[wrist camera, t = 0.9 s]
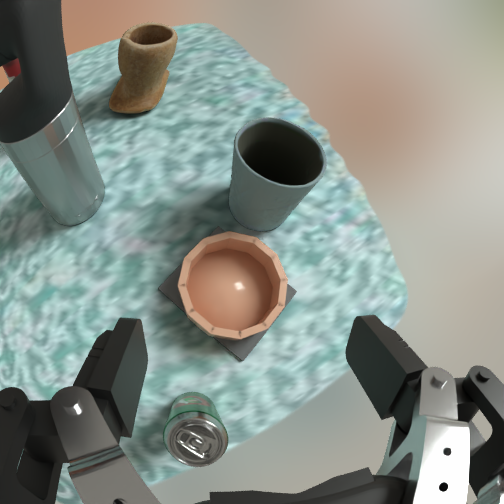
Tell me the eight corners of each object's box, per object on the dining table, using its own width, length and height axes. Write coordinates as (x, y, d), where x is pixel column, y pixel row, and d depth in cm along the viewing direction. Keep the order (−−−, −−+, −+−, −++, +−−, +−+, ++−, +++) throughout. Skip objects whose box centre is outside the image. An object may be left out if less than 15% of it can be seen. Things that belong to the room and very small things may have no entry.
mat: (158, 288, 31) (158, 288, 31) (218, 227, 36) (218, 226, 35) (242, 360, 30) (243, 360, 30) (295, 292, 35) (296, 291, 34)
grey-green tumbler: (300, 230, 38) (341, 183, 27) (231, 243, 35) (251, 193, 24) (277, 172, 41) (305, 116, 30) (213, 179, 38) (224, 118, 27)
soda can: (202, 437, 26) (210, 480, 15) (164, 417, 26) (150, 451, 15) (223, 404, 28) (242, 432, 17) (185, 383, 28) (181, 401, 17)
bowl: (160, 293, 31) (157, 286, 27) (224, 228, 35) (228, 214, 32) (236, 359, 30) (243, 360, 26) (293, 286, 35) (305, 278, 31)
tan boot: (166, 119, 41) (168, 44, 27) (103, 118, 39) (90, 48, 25) (182, 74, 46) (188, 12, 33) (128, 73, 44) (126, 14, 30)
